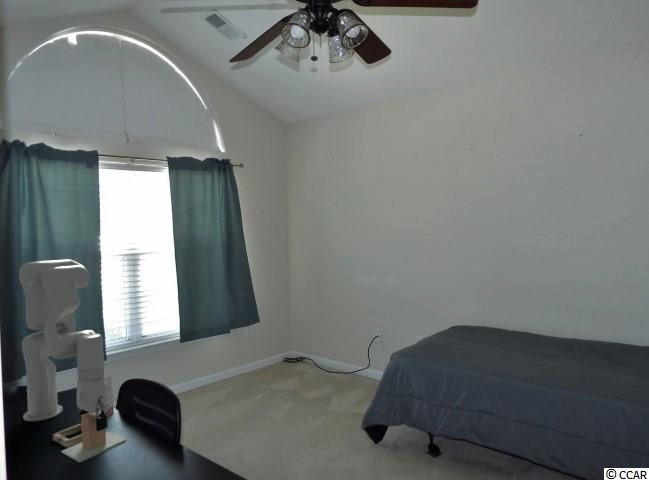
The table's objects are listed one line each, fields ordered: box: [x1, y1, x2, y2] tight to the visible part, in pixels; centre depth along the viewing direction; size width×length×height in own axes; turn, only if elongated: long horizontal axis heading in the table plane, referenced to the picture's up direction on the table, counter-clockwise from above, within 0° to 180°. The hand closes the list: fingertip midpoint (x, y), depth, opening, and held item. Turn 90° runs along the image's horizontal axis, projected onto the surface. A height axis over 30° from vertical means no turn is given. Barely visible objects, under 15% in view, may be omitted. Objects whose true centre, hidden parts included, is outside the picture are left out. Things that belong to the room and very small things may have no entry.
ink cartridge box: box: [97, 375, 115, 418], centre depth 160 cm, size 9×5×15 cm, turn 168°
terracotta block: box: [81, 411, 107, 451], centre depth 138 cm, size 5×5×10 cm
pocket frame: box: [52, 423, 82, 449], centre depth 145 cm, size 10×10×2 cm
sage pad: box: [61, 430, 127, 463], centre depth 138 cm, size 11×15×1 cm
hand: (93, 425), depth 138 cm, fingers open, 9 cm apart
